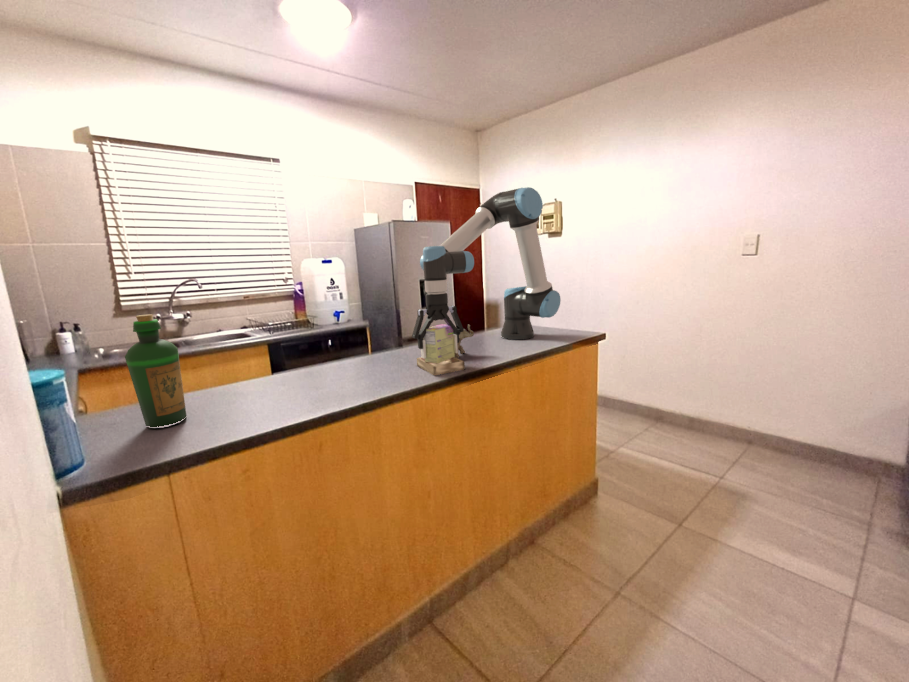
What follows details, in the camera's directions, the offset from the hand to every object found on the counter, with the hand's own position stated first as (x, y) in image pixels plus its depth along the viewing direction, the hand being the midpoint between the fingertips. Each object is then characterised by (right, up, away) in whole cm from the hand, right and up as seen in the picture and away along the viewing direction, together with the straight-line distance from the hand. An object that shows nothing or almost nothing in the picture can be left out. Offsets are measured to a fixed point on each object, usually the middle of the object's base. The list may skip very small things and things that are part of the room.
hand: (439, 355), depth 139 cm
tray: (0, -5, +1) cm, 5 cm away
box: (0, -2, 0) cm, 2 cm away
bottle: (-68, -16, -38) cm, 80 cm away
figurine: (+5, -1, +16) cm, 17 cm away
